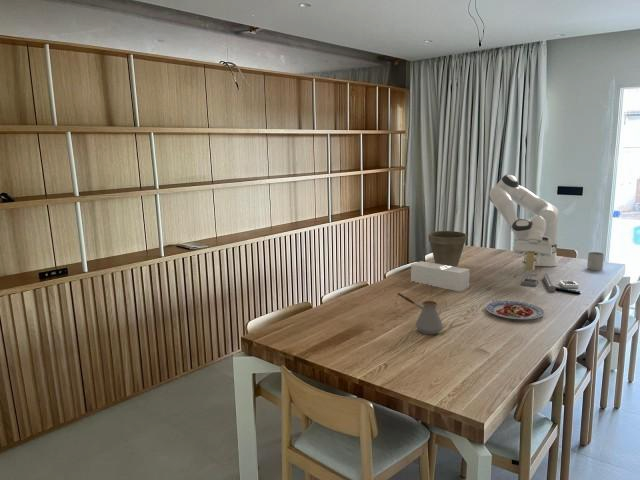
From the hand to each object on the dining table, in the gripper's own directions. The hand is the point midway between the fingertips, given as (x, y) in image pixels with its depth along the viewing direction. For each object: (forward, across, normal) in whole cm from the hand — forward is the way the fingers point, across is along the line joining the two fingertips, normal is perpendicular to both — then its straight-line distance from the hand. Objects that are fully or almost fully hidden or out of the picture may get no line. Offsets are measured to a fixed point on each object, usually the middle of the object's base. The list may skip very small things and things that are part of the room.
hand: (530, 260), depth 266 cm
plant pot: (-5, -55, +25) cm, 61 cm away
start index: (+5, +20, +14) cm, 25 cm away
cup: (-29, +29, +49) cm, 64 cm away
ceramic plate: (+48, +3, -28) cm, 56 cm away
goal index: (+10, 0, +10) cm, 14 cm away
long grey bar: (+7, +10, +12) cm, 17 cm away
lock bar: (+4, 0, +4) cm, 6 cm away
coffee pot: (+78, -28, -58) cm, 101 cm away
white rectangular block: (+28, -44, -7) cm, 53 cm away
